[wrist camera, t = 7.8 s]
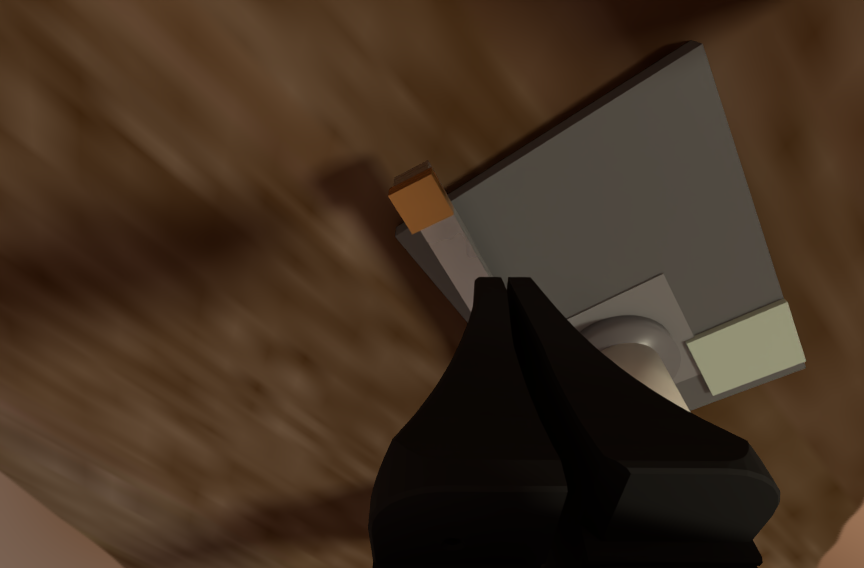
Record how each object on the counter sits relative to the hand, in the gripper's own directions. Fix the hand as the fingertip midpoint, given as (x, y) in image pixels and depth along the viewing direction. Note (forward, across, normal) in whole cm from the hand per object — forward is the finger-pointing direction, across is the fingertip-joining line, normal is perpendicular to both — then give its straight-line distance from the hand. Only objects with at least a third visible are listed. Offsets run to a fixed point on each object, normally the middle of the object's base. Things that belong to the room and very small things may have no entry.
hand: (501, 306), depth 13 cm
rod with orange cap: (+7, 0, +5) cm, 8 cm away
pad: (+9, -15, +10) cm, 20 cm away
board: (+9, -8, +7) cm, 14 cm away
